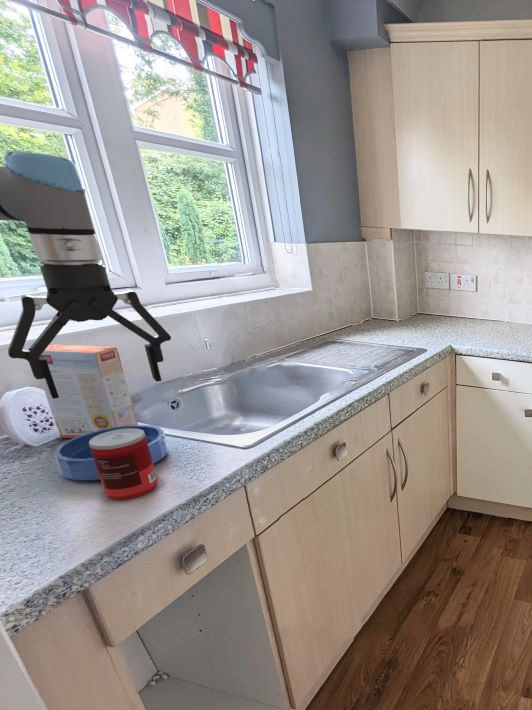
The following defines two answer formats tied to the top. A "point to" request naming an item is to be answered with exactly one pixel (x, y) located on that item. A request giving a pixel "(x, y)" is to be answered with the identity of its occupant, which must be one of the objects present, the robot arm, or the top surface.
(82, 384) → the cracker box
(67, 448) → the bowl
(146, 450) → the canned food
